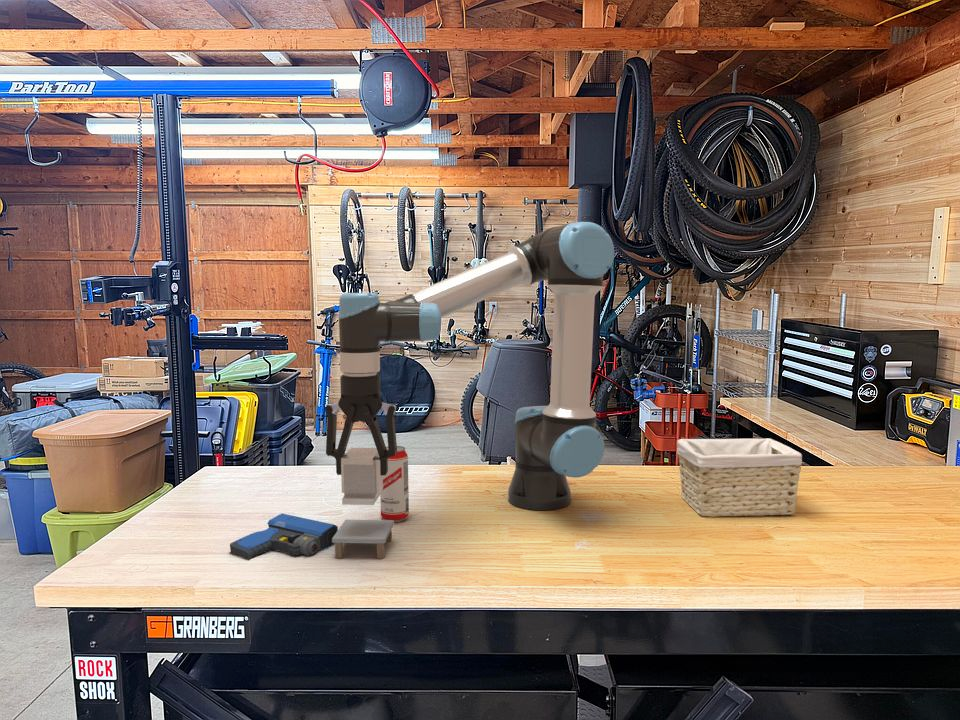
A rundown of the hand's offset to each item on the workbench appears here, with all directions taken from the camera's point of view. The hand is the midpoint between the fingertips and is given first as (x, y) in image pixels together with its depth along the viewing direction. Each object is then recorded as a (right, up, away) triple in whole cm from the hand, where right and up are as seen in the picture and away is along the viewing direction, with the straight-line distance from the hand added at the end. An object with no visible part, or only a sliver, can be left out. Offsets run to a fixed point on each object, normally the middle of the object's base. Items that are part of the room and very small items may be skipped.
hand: (362, 490), depth 123 cm
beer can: (+4, -10, +18) cm, 21 cm away
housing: (0, -1, 0) cm, 1 cm away
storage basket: (+83, -9, +25) cm, 87 cm away
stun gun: (-16, -12, +2) cm, 20 cm away
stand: (0, -12, +1) cm, 12 cm away
